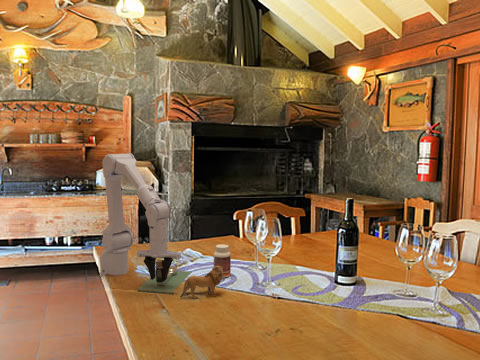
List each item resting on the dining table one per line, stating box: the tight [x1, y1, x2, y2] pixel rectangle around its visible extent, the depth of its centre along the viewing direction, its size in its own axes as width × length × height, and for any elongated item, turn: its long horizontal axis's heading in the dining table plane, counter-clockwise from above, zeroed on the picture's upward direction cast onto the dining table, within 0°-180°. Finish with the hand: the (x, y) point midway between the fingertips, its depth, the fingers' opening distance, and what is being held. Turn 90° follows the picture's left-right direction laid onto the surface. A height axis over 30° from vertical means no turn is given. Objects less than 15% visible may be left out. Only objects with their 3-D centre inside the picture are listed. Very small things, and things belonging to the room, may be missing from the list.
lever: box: [155, 265, 178, 285], centre depth 153 cm, size 4×18×6 cm, turn 172°
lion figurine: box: [179, 266, 224, 300], centre depth 139 cm, size 15×5×9 cm, turn 116°
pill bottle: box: [213, 244, 232, 279], centre depth 159 cm, size 6×6×11 cm
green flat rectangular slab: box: [137, 270, 192, 296], centre depth 152 cm, size 12×21×1 cm, turn 169°
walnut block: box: [155, 258, 163, 269], centre depth 161 cm, size 3×3×4 cm
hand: (158, 279), depth 146 cm, fingers open, 3 cm apart
